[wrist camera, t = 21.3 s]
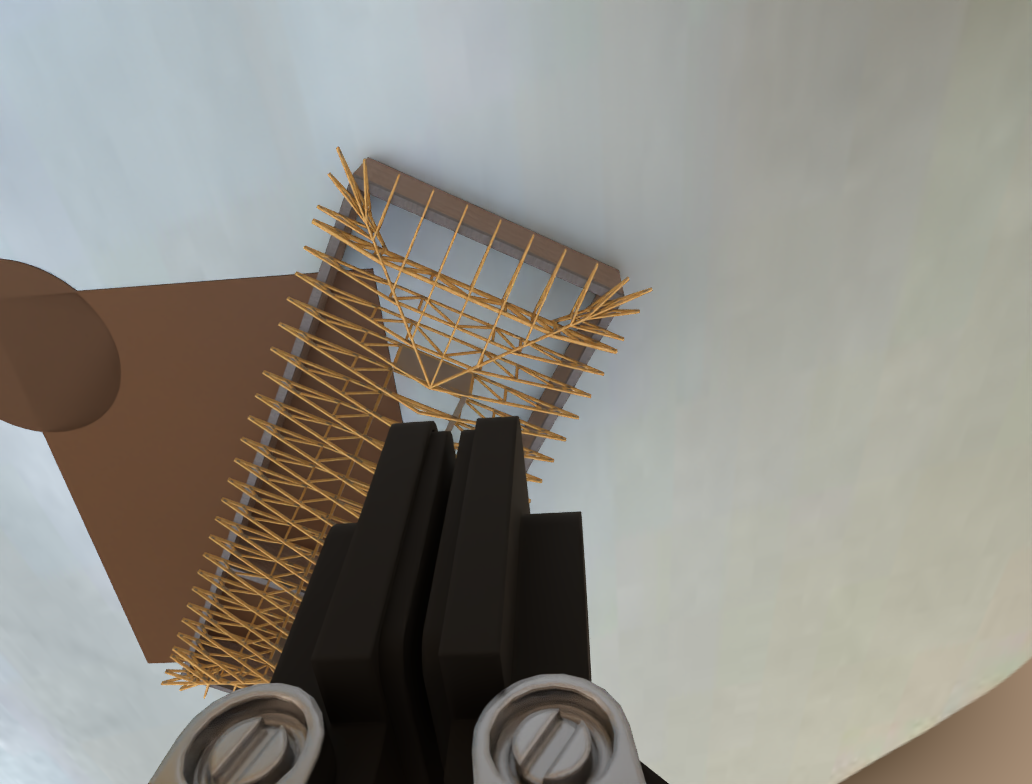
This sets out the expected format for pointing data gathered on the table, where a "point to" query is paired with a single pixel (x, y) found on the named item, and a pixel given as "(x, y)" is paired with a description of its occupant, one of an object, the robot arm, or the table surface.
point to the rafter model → (295, 564)
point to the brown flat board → (181, 423)
